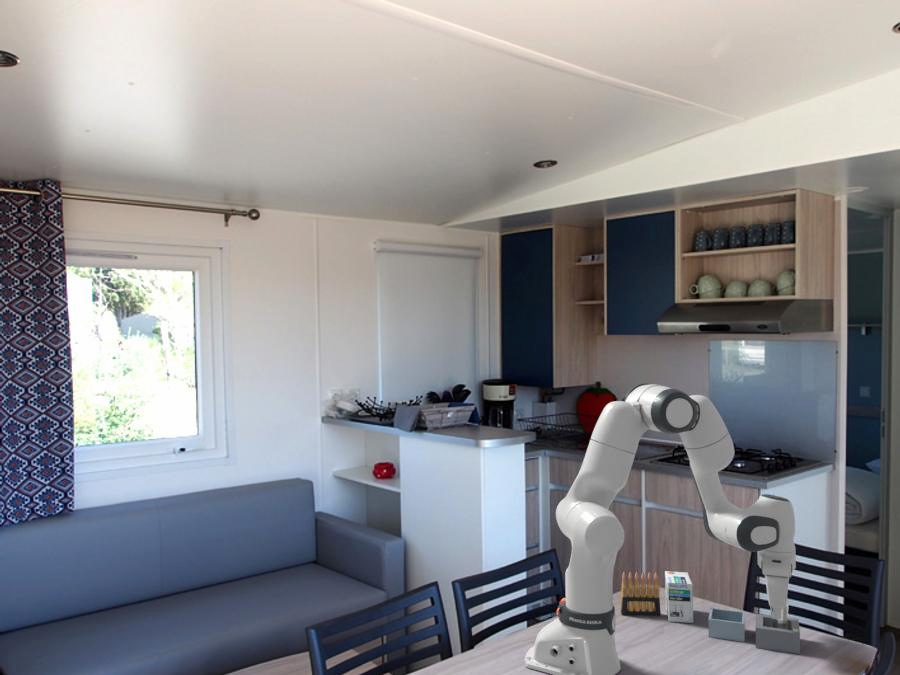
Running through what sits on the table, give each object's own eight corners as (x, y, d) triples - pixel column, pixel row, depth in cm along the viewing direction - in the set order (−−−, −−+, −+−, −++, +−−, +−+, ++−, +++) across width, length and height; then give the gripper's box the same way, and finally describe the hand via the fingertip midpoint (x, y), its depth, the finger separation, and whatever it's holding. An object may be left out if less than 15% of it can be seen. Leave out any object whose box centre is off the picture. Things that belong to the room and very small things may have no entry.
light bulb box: (693, 623, 198) (693, 584, 198) (668, 622, 200) (667, 582, 200) (689, 609, 209) (688, 571, 209) (664, 608, 210) (664, 570, 210)
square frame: (755, 647, 182) (755, 625, 182) (756, 632, 192) (756, 611, 192) (800, 654, 178) (799, 631, 178) (798, 638, 188) (798, 616, 188)
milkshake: (765, 627, 188) (764, 588, 188) (788, 629, 186) (787, 590, 186) (767, 633, 183) (766, 593, 184) (790, 636, 182) (789, 595, 182)
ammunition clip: (621, 615, 205) (621, 572, 205) (620, 612, 207) (620, 570, 207) (660, 616, 204) (660, 573, 204) (659, 613, 206) (658, 571, 206)
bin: (708, 636, 189) (708, 619, 189) (711, 624, 197) (710, 607, 197) (744, 641, 186) (744, 623, 186) (745, 629, 194) (745, 612, 194)
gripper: (763, 547, 196) (763, 598, 196) (762, 569, 177) (763, 626, 177) (789, 549, 193) (789, 601, 193) (791, 572, 175) (792, 630, 175)
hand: (777, 614), depth 185 cm, fingers closed on milkshake, 4 cm apart
